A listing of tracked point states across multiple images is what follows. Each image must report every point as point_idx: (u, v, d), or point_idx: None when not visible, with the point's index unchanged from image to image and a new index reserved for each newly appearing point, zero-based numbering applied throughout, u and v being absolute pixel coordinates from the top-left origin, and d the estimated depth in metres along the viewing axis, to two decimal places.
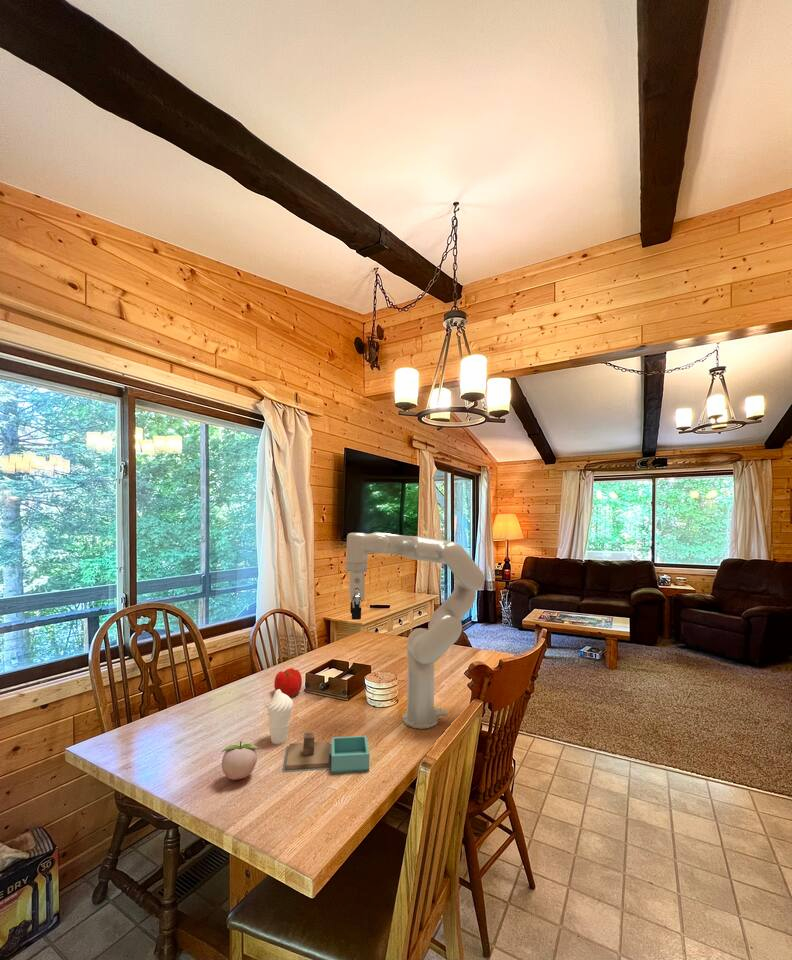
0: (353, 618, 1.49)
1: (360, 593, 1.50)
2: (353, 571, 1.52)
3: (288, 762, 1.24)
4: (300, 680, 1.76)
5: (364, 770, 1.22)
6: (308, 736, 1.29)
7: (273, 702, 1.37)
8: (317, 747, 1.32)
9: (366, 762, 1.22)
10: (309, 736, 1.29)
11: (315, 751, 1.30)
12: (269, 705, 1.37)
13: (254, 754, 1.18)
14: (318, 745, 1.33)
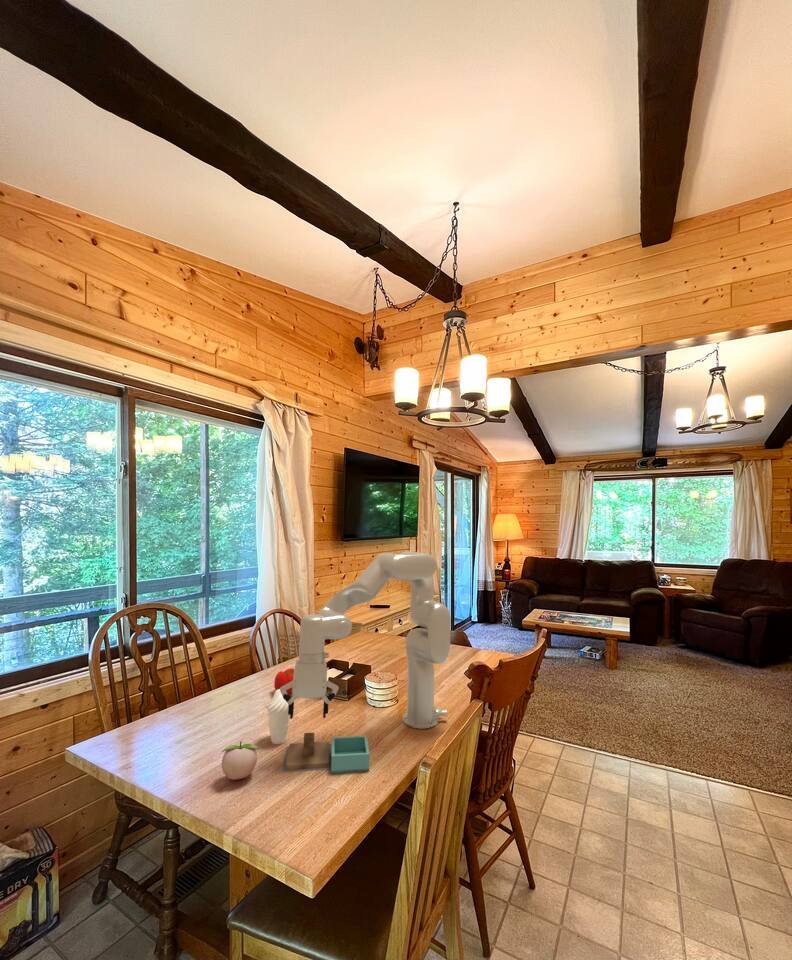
0: None
1: None
2: (322, 662, 1.31)
3: (288, 762, 1.24)
4: None
5: (364, 770, 1.22)
6: (308, 736, 1.29)
7: (273, 702, 1.37)
8: (317, 747, 1.32)
9: (366, 762, 1.22)
10: (309, 736, 1.29)
11: (315, 751, 1.30)
12: (269, 705, 1.37)
13: (254, 754, 1.18)
14: (318, 745, 1.33)
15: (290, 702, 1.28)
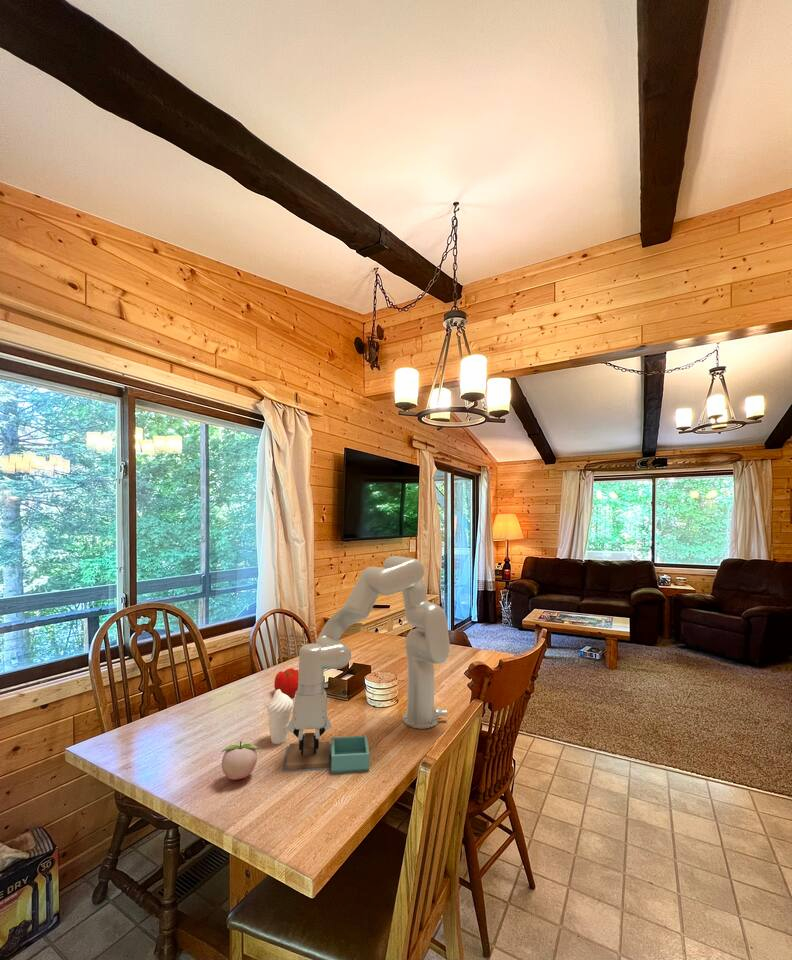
0: (315, 751, 1.28)
1: None
2: (322, 692, 1.30)
3: (288, 762, 1.24)
4: None
5: (364, 770, 1.22)
6: (308, 736, 1.29)
7: (273, 702, 1.37)
8: None
9: (366, 762, 1.22)
10: (309, 736, 1.29)
11: None
12: (269, 705, 1.37)
13: (254, 754, 1.18)
14: None
15: (300, 737, 1.28)
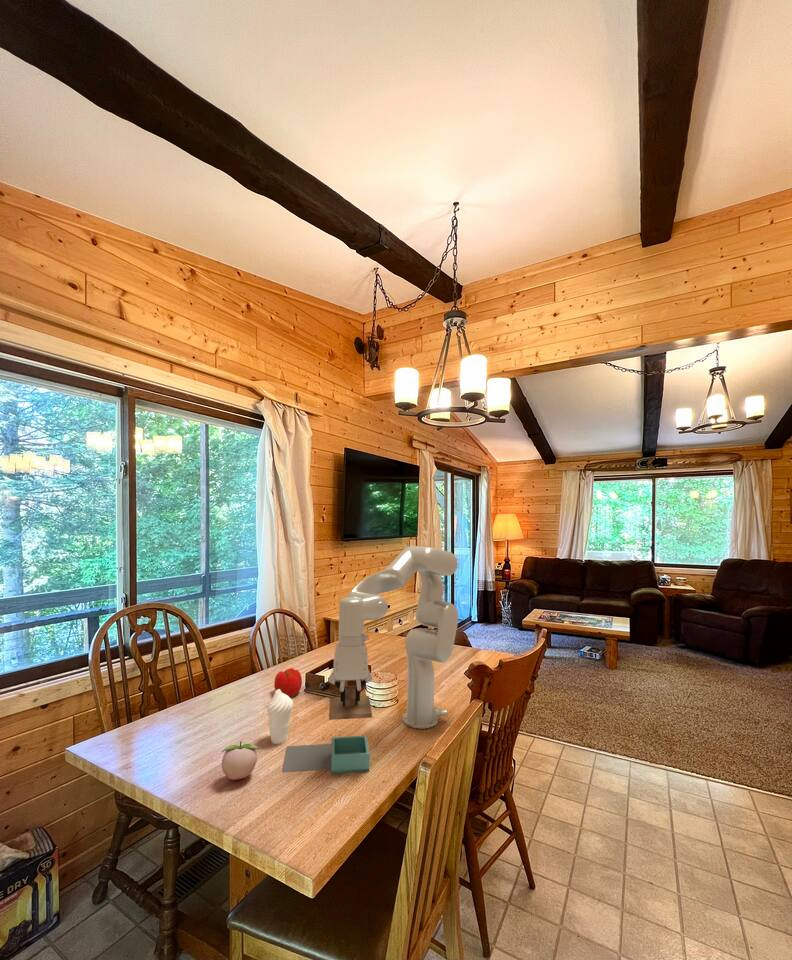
0: None
1: None
2: (363, 644, 1.29)
3: (331, 712, 1.23)
4: (300, 680, 1.76)
5: (364, 770, 1.22)
6: (349, 688, 1.28)
7: (273, 702, 1.37)
8: None
9: (366, 762, 1.22)
10: (350, 688, 1.28)
11: None
12: (269, 705, 1.37)
13: (254, 754, 1.18)
14: None
15: (342, 689, 1.27)
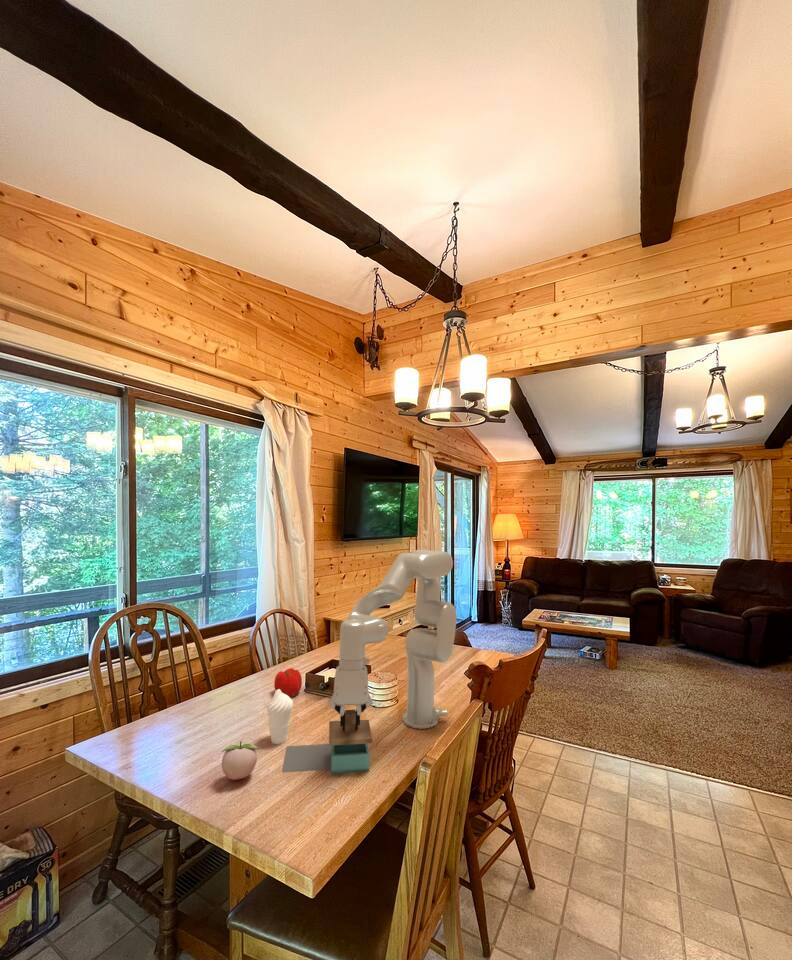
0: None
1: None
2: (363, 668, 1.28)
3: (331, 738, 1.22)
4: (300, 680, 1.76)
5: (364, 770, 1.22)
6: (349, 712, 1.27)
7: (273, 702, 1.37)
8: None
9: (366, 762, 1.22)
10: (350, 713, 1.27)
11: None
12: (269, 705, 1.37)
13: (254, 754, 1.18)
14: None
15: (342, 713, 1.26)
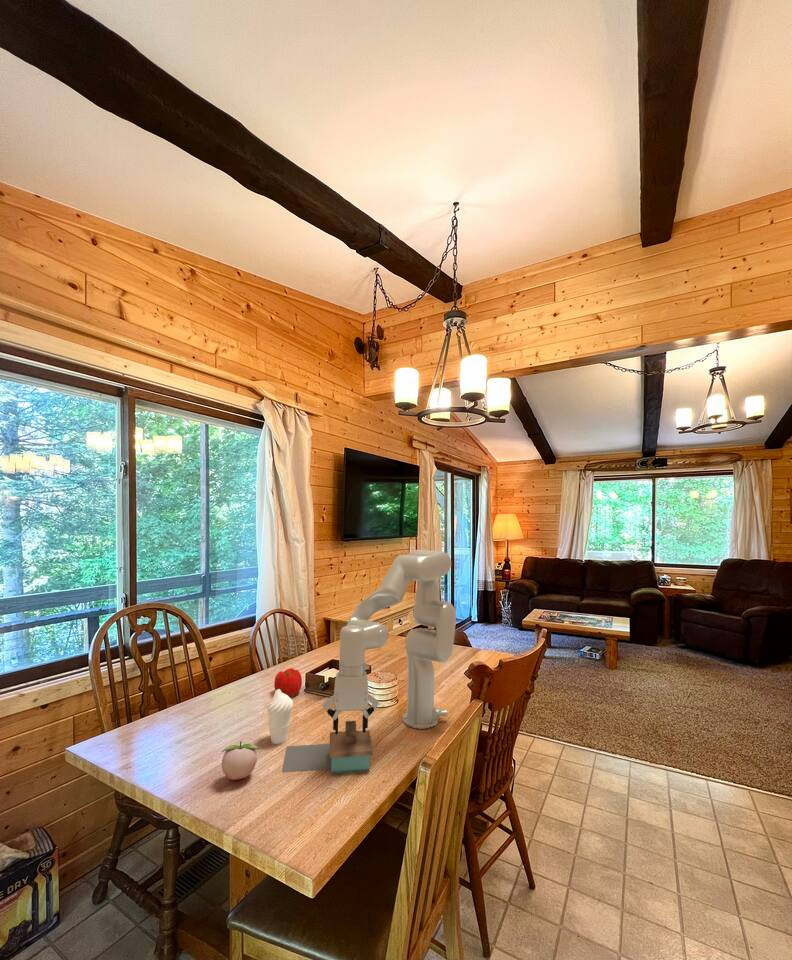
0: None
1: None
2: (363, 673, 1.28)
3: (331, 750, 1.22)
4: (300, 680, 1.76)
5: (364, 770, 1.22)
6: (350, 724, 1.27)
7: (273, 702, 1.37)
8: (358, 736, 1.30)
9: (366, 762, 1.22)
10: (351, 724, 1.27)
11: (357, 739, 1.28)
12: (269, 705, 1.37)
13: (254, 754, 1.18)
14: (359, 734, 1.31)
15: (335, 717, 1.26)
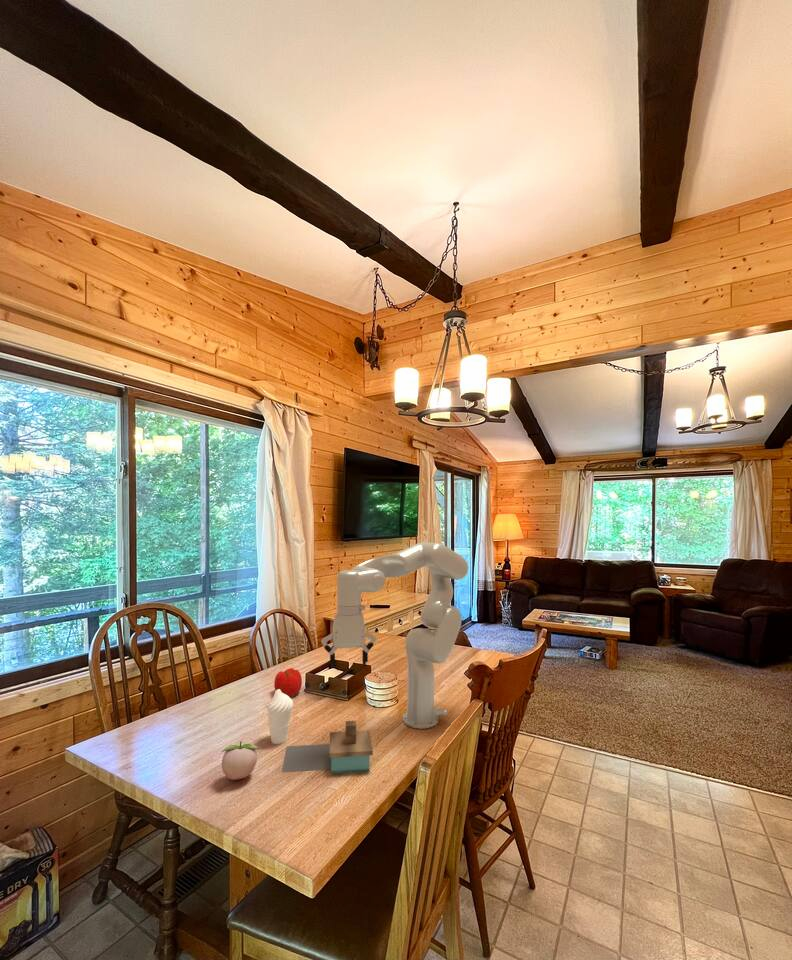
0: (365, 664, 1.36)
1: None
2: (360, 613, 1.37)
3: (331, 750, 1.22)
4: (300, 680, 1.76)
5: (364, 770, 1.22)
6: (350, 724, 1.27)
7: (273, 702, 1.37)
8: (358, 736, 1.30)
9: (366, 762, 1.22)
10: (351, 724, 1.27)
11: (357, 739, 1.28)
12: (269, 705, 1.37)
13: (254, 754, 1.18)
14: (359, 734, 1.31)
15: (332, 652, 1.35)
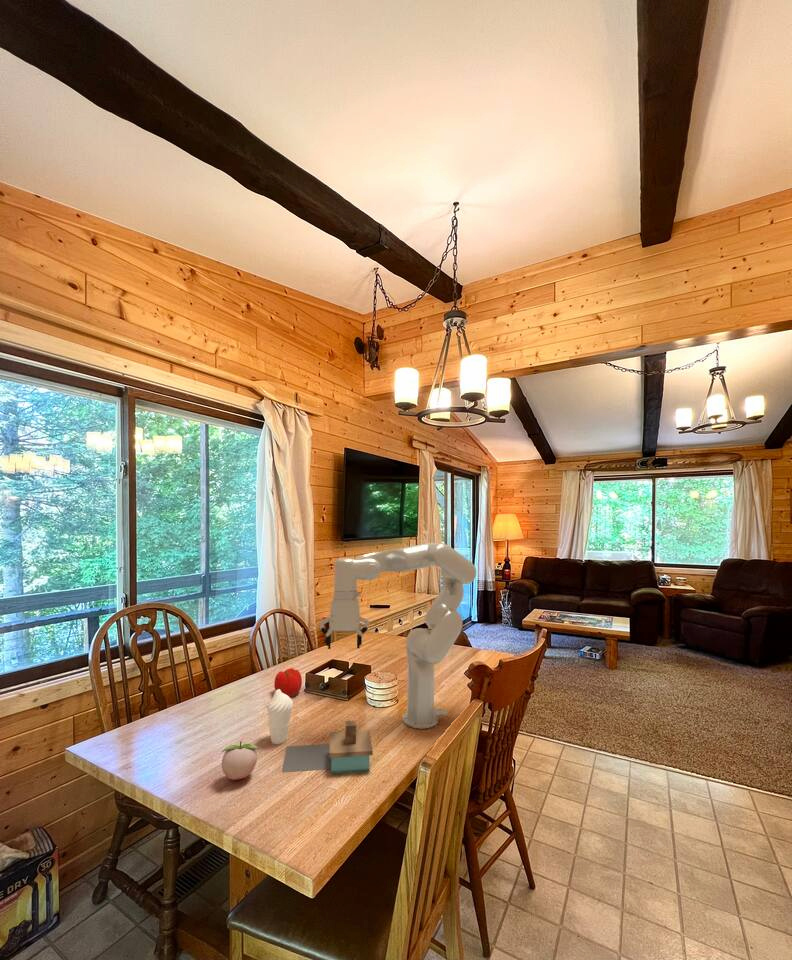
0: None
1: None
2: (355, 599, 1.45)
3: (331, 750, 1.22)
4: (300, 680, 1.76)
5: (364, 770, 1.22)
6: (350, 724, 1.27)
7: (273, 702, 1.37)
8: (358, 736, 1.30)
9: (366, 762, 1.22)
10: (351, 724, 1.27)
11: (357, 739, 1.28)
12: (269, 705, 1.37)
13: (254, 754, 1.18)
14: (359, 734, 1.31)
15: (328, 634, 1.43)
